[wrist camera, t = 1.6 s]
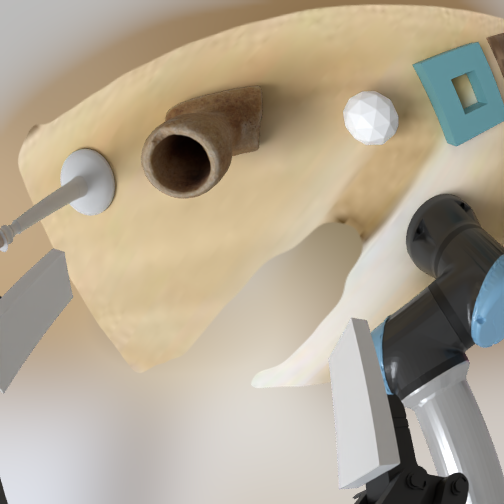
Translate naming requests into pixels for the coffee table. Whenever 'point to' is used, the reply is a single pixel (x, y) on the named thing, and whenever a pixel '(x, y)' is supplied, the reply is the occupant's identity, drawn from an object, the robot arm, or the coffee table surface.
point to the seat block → (447, 101)
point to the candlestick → (70, 192)
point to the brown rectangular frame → (498, 49)
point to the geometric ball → (370, 118)
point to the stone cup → (202, 141)
